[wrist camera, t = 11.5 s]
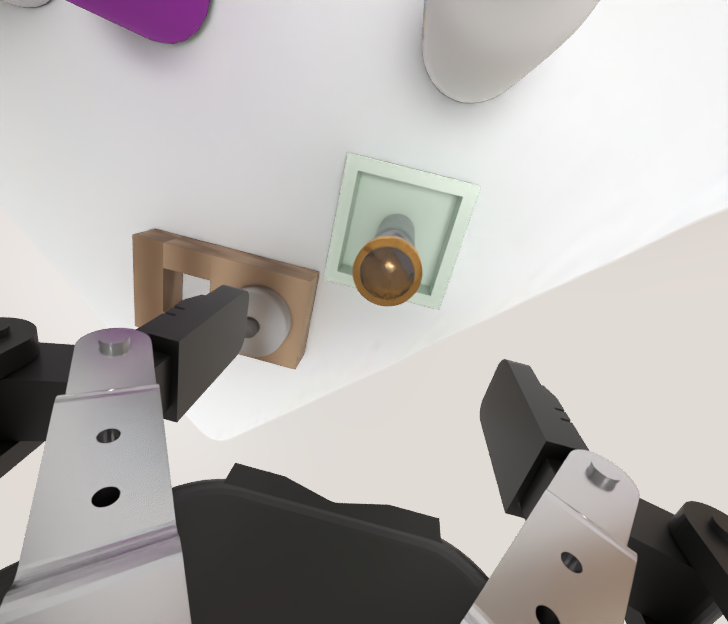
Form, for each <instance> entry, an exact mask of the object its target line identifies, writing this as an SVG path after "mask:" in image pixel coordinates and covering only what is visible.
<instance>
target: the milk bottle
mask: <svg viewBox="0 0 728 624" xmlns="http://www.w3.org/2000/svg"><path fill="white" fill-rule="evenodd" d="M599 1H600V0H425V2H424V16H423V33H422V49H423V58H424V63H425V67H426V70H427V72H428V74H429V77H430V78H431V80H432V82H433V83H434V84H435V86H436V87H437V88H438V89H439V90H440V91H441V92H442V93H443V94H445V95H446V96H448V97H450V98H452V99H454V100H456V101H460V102H465V103H478V102H483V101H487V100H489V99H492V98H494V97H496V96H498V95H500V94H501V93H503V92H505V91H506V90H508V89H509V88H510V87H512V86H513V85H514V84H515V83H517V82H518V81H519V80H520V79H522V78H523V77H524V76H525V75H527V74H528V73H529V72H530V71H532V70H533V69H534V68H535V67H537V66H538V65H539V64H540V63H541V62H543V61H544V60H545V59H546V58H547V57H549V56H550V55H551V54H552V53H553V52H554V51H555V50H557V49H558V48H559V47H560V46H561V45H562V44H563V43H564V42H565V41H566V40H567V39H568V38H569V37H570V36H571V35H572V34H573V33H574V32H575V31H576V30H577V29H578V28H579V27H580V26H581V25H582V23H583V22H584V21H585V20H586V18H587V17H588V16H589V15H590V13H591V12H592V11H593V9H594V8H595V6H596V5H597V4H598V2H599Z"/></svg>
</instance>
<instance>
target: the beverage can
mask: <svg viewBox="0 0 728 624" xmlns="http://www.w3.org/2000/svg"><path fill="white" fill-rule="evenodd" d="M66 1H68V2H71V3H73V4H75V5H77V6H79V7H81V8H83V9H86V10H88V11H90V12H92V13H94V14H96V15H98V16H101V17H103V18H105V19H107V20H109V21H111V22H113V23H116V24H118V25H120V26H122V27H124V28H126V29H128V30H130V31H133V32H135V33H137V34H139V35H141V36H143V37H145V38H148V39H150V40H152V41H156V42H162V43H169V44H174V43H177V42H181V41H184V40H187V39H188V38H189V37H190V36H192V35H193V34H194V33H195V32H196V31H198V29H199V28H200V26H201V24H202V22H203V21H204V19H205V17H206V15H207V11H208V6H209V2H210V0H66Z"/></svg>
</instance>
